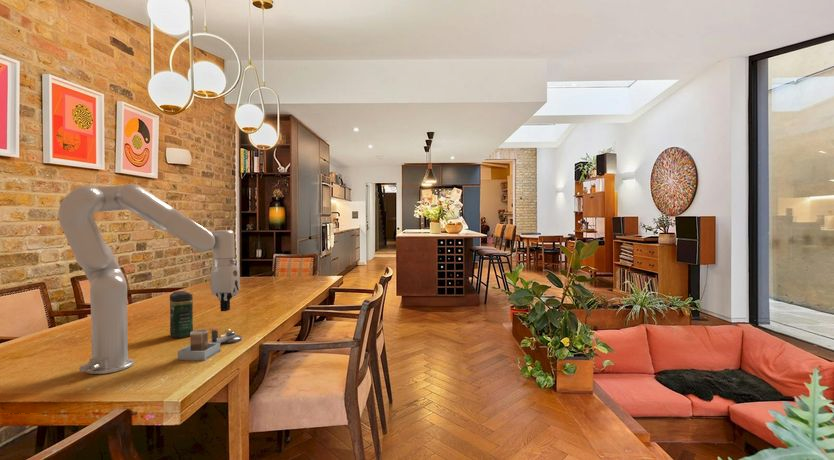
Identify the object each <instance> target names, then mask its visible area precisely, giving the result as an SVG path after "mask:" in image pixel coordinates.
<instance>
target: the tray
mask: <svg viewBox="0 0 834 460" xmlns="http://www.w3.org/2000/svg"><path fill="white" fill-rule="evenodd" d="M219 352H221V343H210V342H208V349H207V350H205V351H191V345H190V344H189V345H187V346H184V347H183V348H181V349H179V350H177V360H179V361H180V360H181V361H184V360H185V361H206V360H208V359H210V358H212V357H213V356H215V355H216V354H219Z"/></svg>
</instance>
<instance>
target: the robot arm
mask: <svg viewBox="0 0 834 460" xmlns="http://www.w3.org/2000/svg"><path fill="white" fill-rule="evenodd" d="M123 210H124V211H126V210H127V211H129V212H131V213H132V214H134V215H136V216H137V217H140V218H141V219H142V220H144V221H146V222H148V223H149V224H151V225H152V226H154V227H156V228H158V229H159V230H161V231H164V232H166V233H168V234H170V235H172V236H174V237H175V238H178V239H179V240H181V241H182V242H184V243H185V244H187V245H189V246H190V247H191V248H192V249H193V250H196V251H199V252H208V251H210V250H212V266H211V271H210V281H209V283H210V284H209V285H210V290H211V295H212V296H216V297H217V298H218V301H219V303H220V305H219V307H220V312H223V313H224V312H228V311H230V310H231V300H232V298H233V297H235V296H238V295H239V292H240V290H241V284H240V283H241V280H240V273H239V268H238V265H236V264H237V262H238V261H237V259H236V256H235V255H236V254H235V251H236V250H235V249H236V248H235V232H234V231H233V230H231V229H218V230H208V229H207V228H205V227H203V226H202V225H200V224H198V223H197V222H195V221H194V220H192V219H190V218H189V217H188V216H186V215H185V214H183V213H182V212H181V211H179V210H177V209H176V208H175V207H173V206H171V205H170V204H168V203H166V202H165V201H164V200H162V199H160V198H159V197H157V196H156V195H154V194H153V193H151V192H150V191H148V190H147V189H145V188H144V187H142V186H141V185H138V184H136V183H135V184H134V183H125V184H123V185H111V186H93V185H88V184H87V185H85V184H84V185H80V186H77V187H76V188H74V189H73V190H71V191H70V192H69V193H68V194H66V196H65V197H64V198H63V199H62V201H61V203H60V204H59V207H58V221H59V225H60V227H61V230H62V232H63V234H64V236H65V238H66V241H67V242H68V245H69V247H70V250H71V252H72V253H73V255H74V258H75V262H76V263H77V265H78V266H79V267H80V268H82V270H83V272H84V274H85V276H86V279H87V280H88V282H89V284H90V287H89V300H90V302H89V303H90V323H91V325H90V328H91V331H90V332H91V357H90V358H89V361H88V363H86V364H83V365H81V366H79V369H78V370H79V372H81V373H85V372H86V373H87V374H91V375H104V374H112V373H115V372H120V371H123V370H126V369H128V368H130V367H132V366H133V365H134V364H135V363H134V359H133V358H132V357H131V358H130V357H129V345H128V344H129V343H128V285H127V284H128V282H127V280H126V277H125V275H124V273H123V271H122V269H121V267H120V265H119V262H118V261H117V258H116V256H115V254H114V253H113V251H112V249H111V247H110V245H108V244H107V243H106V242H105V239H104V238H103V235H102V234H101V232H100V229H99V227H98V225H97V223H96V220H95V213H100V212H112V211H113V212H115V211H123Z"/></svg>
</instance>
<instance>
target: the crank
mask: <svg viewBox="0 0 834 460" xmlns="http://www.w3.org/2000/svg"><path fill="white" fill-rule="evenodd" d="M220 331H221V329H220V328H214V327H210V328H209V329H208V332H211V340H210V341H209V343H220V344H223V343H222V342H224V341H226V340H229V339H231V338H233V337H235V335H236V332H235V330H231V331H229V332H227V335H225V334H224V335H225V336H222V337H221V336H220V337H219V332H220Z"/></svg>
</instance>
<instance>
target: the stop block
mask: <svg viewBox="0 0 834 460" xmlns="http://www.w3.org/2000/svg"><path fill="white" fill-rule="evenodd" d="M208 334H209V329H206V328H205V329H204V328H203V329H202V328H201V329H200V328H199V329H198V328H197V329H195V330H194V329H193V331H192V332H190V336H189V337H190V338H189V340H190V341H189V342H190V344H189V345H191V351H205V350H207V349H208V343H209V337H208V336H209V335H208Z"/></svg>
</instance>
